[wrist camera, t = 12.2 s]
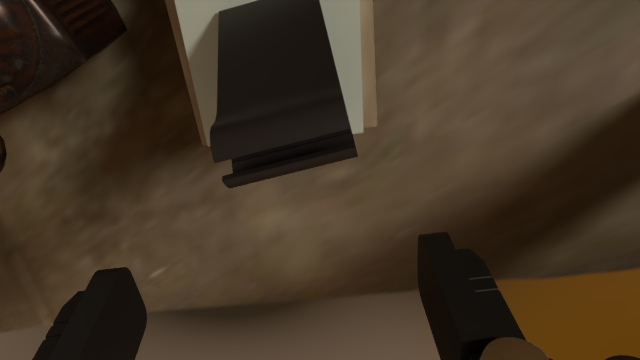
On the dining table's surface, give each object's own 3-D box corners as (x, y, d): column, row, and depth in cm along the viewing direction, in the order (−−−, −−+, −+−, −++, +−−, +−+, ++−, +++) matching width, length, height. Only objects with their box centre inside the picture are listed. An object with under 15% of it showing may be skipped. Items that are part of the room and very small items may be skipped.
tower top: (351, -46, 30) (358, -39, 27) (356, 110, 36) (363, 132, 32) (183, -31, 30) (169, -23, 27) (215, 123, 36) (207, 146, 32)
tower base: (360, -77, 34) (370, -74, 29) (368, 102, 41) (377, 126, 37) (170, -56, 34) (152, -50, 29) (211, 120, 41) (202, 145, 37)
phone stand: (348, 118, 32) (373, 221, 22) (265, 139, 32) (251, 250, 22) (315, -18, 27) (328, 31, 17) (219, 9, 28) (175, 73, 17)
